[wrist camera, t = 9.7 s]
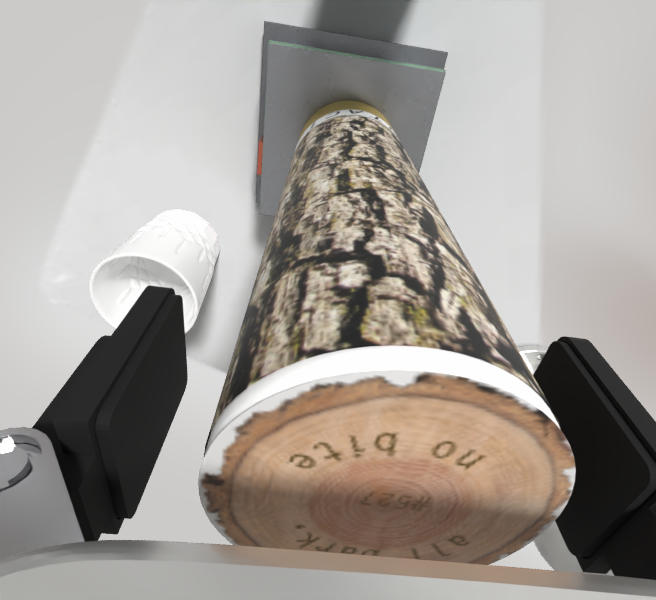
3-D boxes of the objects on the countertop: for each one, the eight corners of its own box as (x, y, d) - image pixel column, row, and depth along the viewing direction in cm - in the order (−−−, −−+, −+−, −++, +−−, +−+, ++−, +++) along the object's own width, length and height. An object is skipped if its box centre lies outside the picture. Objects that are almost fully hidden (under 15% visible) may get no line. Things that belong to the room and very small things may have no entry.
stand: (401, 217, 37) (412, 247, 32) (257, 197, 36) (245, 224, 31) (444, 51, 30) (466, 56, 25) (266, 21, 29) (252, 20, 24)
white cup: (152, 187, 36) (98, 235, 28) (237, 224, 38) (211, 281, 30) (133, 258, 40) (81, 320, 32) (211, 289, 42) (181, 355, 34)
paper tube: (381, 208, 31) (482, 598, 10) (290, 190, 30) (194, 569, 9) (408, 110, 27) (666, 406, 6) (305, 87, 26) (201, 334, 5)
